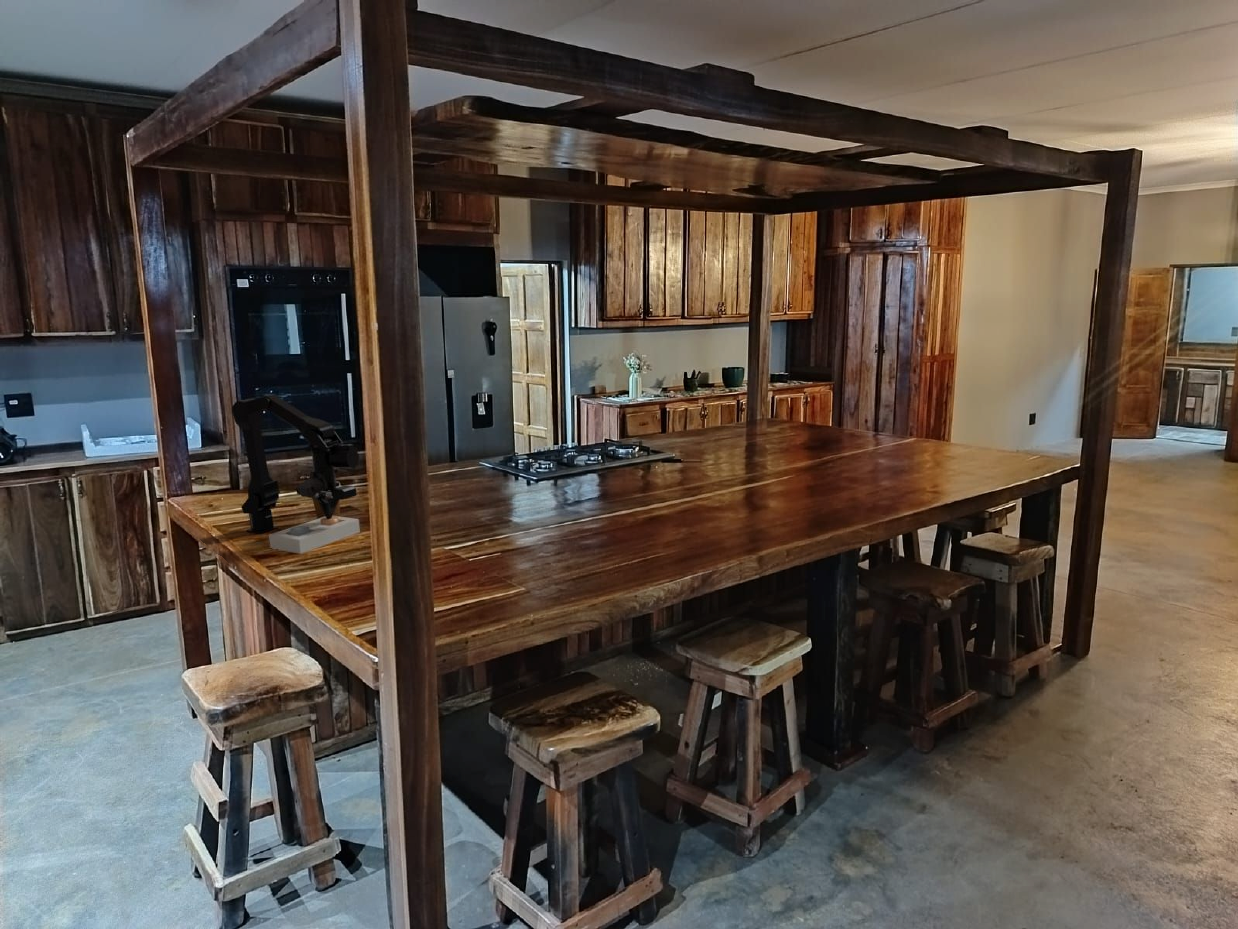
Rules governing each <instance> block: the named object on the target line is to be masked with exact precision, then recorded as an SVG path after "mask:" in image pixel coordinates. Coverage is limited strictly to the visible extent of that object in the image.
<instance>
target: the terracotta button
mask: <svg viewBox="0 0 1238 929" xmlns="http://www.w3.org/2000/svg"><path fill="white" fill-rule="evenodd" d="M320 521H321V525H326V526H330V525H333V524H336V523H339V520H338V517H335V516H332V518H331V519H327V518H326V517H324V518H322V519H320Z"/></svg>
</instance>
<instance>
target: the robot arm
mask: <svg viewBox="0 0 1238 929" xmlns="http://www.w3.org/2000/svg"><path fill="white" fill-rule="evenodd" d="M266 411H269V412H270V413H272V414H273V415H274V416H276V417H278V418H279V419H281V420H282V421H284V422H285V423H287V424H289V425H290V426H292V427H293V428H295V429H296V430H298V432H299V433H300V435H301V436H302V438H303V439H304V440H305V441H306V442H308V443H309V445H308V446H307V447H305V449H304V452H307V453H311V458H312V466H313V470H312V471H311V470H310V473H309V478H307V479H305V480H304V481H302V482H301V483H299V484H298V485H296V488H295V490H296V495H300V496H301V497H303V498H304V497H306V498H309V499H311V500H313V499H315V500H316V501H318V502H319V504H320V506H321V508H322V510H323V512H324V514H325V516H326V518H327V519H331V518H332V516H333V513H334V510H335V508H336V505H337V503H338V501H339V500H340V501H342V500H346V499H350V498H353V497H357V495H358V494H357V487H355V486H354V485H345V484H344V485H341V487H338V488H336V487H337V486H339V483H340V481H337V482H336V479H337V478H336V473H338V472H339V471H338V470H339V469H338V468H342V469H355V468H356V467H357V466H358V464H359V462H360V461H359V460H360V455H359V453H358V451H357V449H356V448H354V444H353V443H348V444H344V442H343V440H342V439H341V438H340V436H339V435H338V434H337V432H336V431H335V429H334V426H333V425H332V424H331V423H329V422H327V421H324V419H323V420H322V419H319V418H315V417H311V416H308V415H307V414H306V413H304V412H303V411H301V410H299V409H298V408H296V407H295V406H293V405H291V404H289V403H288V402H287V401H285V400H283V399H282V398H280V396H279V395H277V394H275V393H273V394H272V393H271V394H266V395H262V396H261V397H258V398H246V399H242V400H237V401H235V402H234V403H233V405H232V406H231V413H232V416H233V419H234V422H235V424H236V425H237V427H239V429H240V430H241V431H242V436H243V442H244V446H245V453H246V457H247V458H246V459H247V462H248V468H249V473H250V480H249V484H248V486H247V499H246V500H245V502H244V503H243V504H242V506H241V510H242V512H243V513H242V514H246V515H247V514H248V517H249V526H250V528H247V529H246V530H245V531H246V532H248V533H255V534H263V533H266V532H267V533H268V532H270V531H273V530H276V529H278V527H279V526H277V525H274V517H273V514H272V513H273V512H272V509H273V508H276V506H277V502H278V500H279V498H280V494H281V491H280V489H279V481H278V480H276V479H275V480H274V479H272V478H271V476H270V474H269V470H268V469H269V468H268V463H267V457H266V452H265V446H264V440H263V435H262V429H261V428H262V426H263V422H264V419H265V413H264V412H266ZM328 490H330V491H328Z"/></svg>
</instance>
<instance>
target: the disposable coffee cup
mask: <svg viewBox="0 0 1238 929" xmlns="http://www.w3.org/2000/svg"><path fill="white" fill-rule="evenodd" d="M336 482H338V480H337V481H336ZM341 486H342V485H341V483H340V482H339V486H337V487H336V488H338V487H341ZM328 491H330V490H328ZM312 503H313V507H314V510H315V515H316V519H319V518H322V517H325V514H324V512H323V510H322V508H321V506H320V504H319V502H318V501H316V500H315V499H312ZM340 512H341V500H339V501H338V503H337V505H336V508H335V510H334V513H333V516H339V517H341V516H340V515H341V514H340Z"/></svg>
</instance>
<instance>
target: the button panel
mask: <svg viewBox="0 0 1238 929" xmlns="http://www.w3.org/2000/svg"><path fill="white" fill-rule="evenodd" d="M325 517H326V516H325ZM335 517H338V520H339V523H336V524H333V525H330V526H326V525H321V521H320V519H322V518H324V517H322V518H319V519H317V518H316V519H314V520H310V521H308V522H304V523H301V524H298V525H295V526H292V527H289V528H286V529H282V530H279V531H276V532H273V533H270V534H268V540H269V548H273V550H276V549H278V551H283V552H289V553H293V554H294V553H295V554H299V555H300V554H301V555H302V554H304V553H307V552H310V551H313V550H315V549H318V548H320V547H324V546H326V545H329V544H331V543H334V542H337V541H339V540H340V541H341V540H342V539H345V538H348V537H351V536H353V535H356V534H359V533H361V530H360V520H359V519H358V518H353V517H346V516H345V517H344V516H340V517H339V516H335ZM298 526H307V527H309V533H307V534H304V535H301V536H294V535H290V529H291V528H294V527H298Z"/></svg>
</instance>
